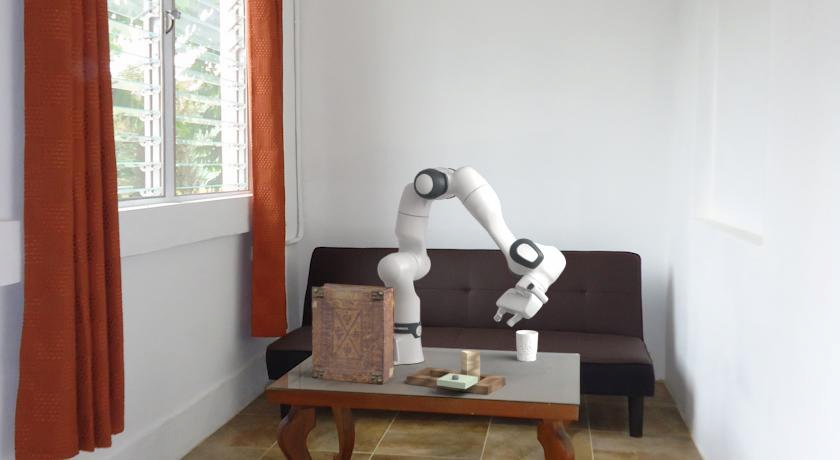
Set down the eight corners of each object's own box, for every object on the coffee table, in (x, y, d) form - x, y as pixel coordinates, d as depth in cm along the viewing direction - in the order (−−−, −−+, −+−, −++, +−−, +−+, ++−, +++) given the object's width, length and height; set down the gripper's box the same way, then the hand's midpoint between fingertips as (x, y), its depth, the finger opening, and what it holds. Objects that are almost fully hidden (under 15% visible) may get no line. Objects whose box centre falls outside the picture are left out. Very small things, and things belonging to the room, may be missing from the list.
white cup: (532, 363, 302) (532, 335, 301) (511, 360, 306) (512, 332, 305) (541, 359, 308) (541, 331, 308) (521, 356, 312) (521, 329, 312)
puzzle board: (406, 383, 272) (406, 375, 272) (427, 374, 284) (427, 367, 284) (487, 394, 259) (487, 386, 259) (505, 384, 271) (505, 376, 271)
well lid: (436, 385, 259) (436, 376, 259) (449, 378, 267) (450, 370, 267) (465, 389, 255) (465, 379, 254) (477, 382, 262) (477, 373, 262)
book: (311, 378, 279) (311, 286, 277) (324, 371, 288) (323, 283, 286) (383, 384, 271) (383, 290, 268) (394, 378, 279) (394, 287, 277)
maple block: (466, 388, 266) (467, 353, 266) (460, 385, 271) (460, 350, 270) (479, 387, 268) (480, 352, 267) (473, 383, 272) (473, 349, 272)
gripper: (508, 280, 284) (482, 311, 281) (538, 287, 265) (510, 321, 262) (520, 292, 286) (494, 323, 283) (551, 300, 267) (523, 334, 264)
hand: (502, 322), depth 272 cm, fingers open, 8 cm apart
